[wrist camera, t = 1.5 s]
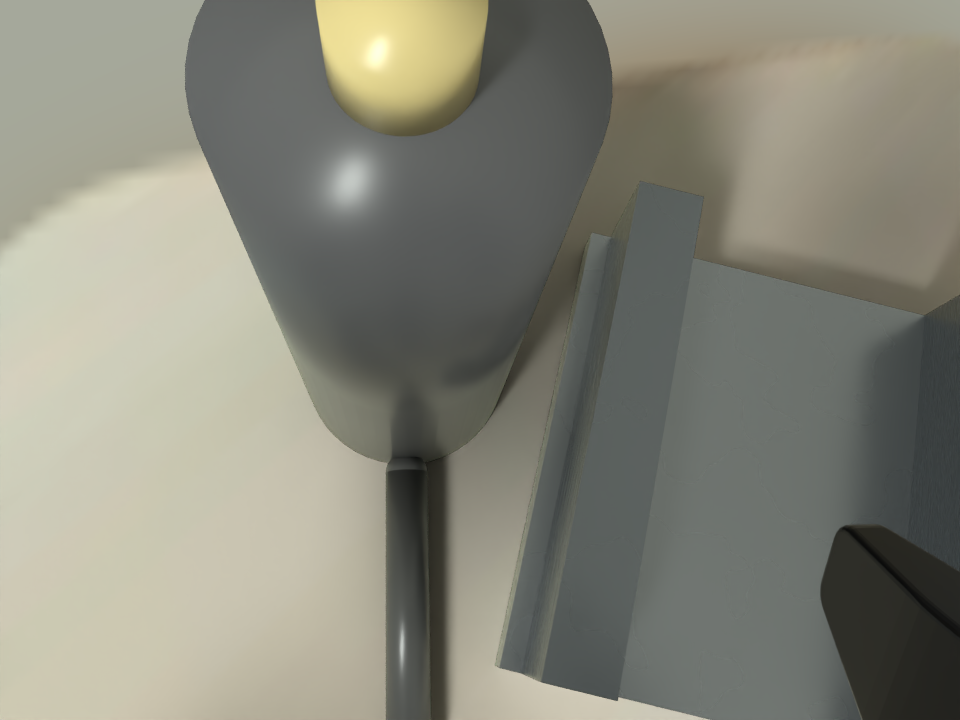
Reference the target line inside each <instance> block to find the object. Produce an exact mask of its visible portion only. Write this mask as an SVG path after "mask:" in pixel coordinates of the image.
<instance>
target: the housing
mask: <svg viewBox="0 0 960 720" xmlns="http://www.w3.org/2000/svg"><path fill="white" fill-rule="evenodd" d="M703 199H704V197H702V196H698V195H694V194H690V193H686V192H682V191H678V190H674V189H670V188H666V187H662V186H658V185H654V184H650V183H646V182H642V181H640V182H639V184H638V186H637V188H636V190H635V192H634V194H633V195H632V197H631V199H630V201H629V203H628V205H627V207H626V209H625V211H624V213H623V214H622V216H621V218H620V220H619V222H618V224H617V226H616V228H615V230H614V232H613V233H612V235H611V237H608V236H604V235H600V234H596V233H592V234H591V236H590V238H589V240H588V242H587V244H586V246H585V248H584V253H583V258H582V262H581V267H580V272H579V276H578V281H577V286H576V290H575V295H574V300H573V304H572V309H571V314H570V318H569V323H568V328H567V332H566V337H565V342H564V346H563V351H562V356H561V360H560V365H559V369H558V374H557V379H556V383H555V388H554V393H553V397H552V402H551V407H550V411H549V416H548V421H547V425H546V430H545V435H544V439H543V444H542V449H541V453H540V458H539V463H538V467H537V472H536V477H535V481H534V486H533V491H532V495H531V500H530V505H529V509H528V514H527V519H526V523H525V528H524V533H523V537H522V542H521V547H520V551H519V556H518V561H517V565H516V570H515V575H514V579H513V584H512V589H511V593H510V598H509V603H508V607H507V612H506V617H505V621H504V626H503V631H502V635H501V640H500V644H499V649H498V654H497V658H496V663H495V666H497V667H499V668H502V669H506V670H510V671H514V672H518V673H522V674H524V675H526V676H528V677H530V678H533V679H535V680H537V681H539V682H542V683H546V684H550V685H554V686H558V687H562V688H566V689H570V690H574V691H579V692H583V693H587V694H591V695H595V696H599V697H603V698H607V699H611V700H615V701H618V697H620V698H624V699H629V700H633V701H637V702H641V703H645V704H649V705H653V706H657V707H661V708H665V709H669V710H673V711H678V712H682V713H686V714H690V715H694V716H698V717H702V718H706V719H710V720H862V719H861V716H860V714H859V711H858V708H857V705H856V702H855V699H854V696H853V693H852V691H851V688H850V685H849V682H848V679H847V676H846V673H845V671H844V668H843V665H842V662H841V659H840V656H839V653H838V651H837V648H836V645H835V642H834V639H833V636H832V633H831V630H830V628H829V625H828V622H827V619H826V616H825V613H824V610H823V607H822V603H821V597H820V586H821V581H822V577H823V574H824V570H825V567H826V563H827V560H828V557H829V553H830V550H831V546H832V543H833V540H834V537H835V534H836V532H837V531H838V530H839V528H841V527H842V526H845V525H852V524H879V525H882V526H884V527H886V528H888V529H890V530H891V531H893V532H895V533H896V534H898V535H900V536H901V537H903V538H905V539H906V540H908V541H910V542H911V543H913V544H915V545H917V546H918V547H920V548H922V549H923V550H925V551H927V552H928V553H930V554H932V555H933V556H935V557H937V558H938V559H940V560H942V561H943V562H945V563H947V564H948V565H950V566H952V567H953V568H955V569H957V570H958V571H960V295H959V296H957V297H955V298H954V299H952V300H950V301H948V302H947V303H945V304H943V305H942V306H940V307H938V308H937V309H935V310H933V311H932V312H930V313H928V314H927V315H921V314H917V313H913V312H909V311H905V310H901V309H897V308H893V307H889V306H885V305H881V304H877V303H873V302H869V301H865V300H861V299H857V298H853V297H849V296H845V295H841V294H837V293H833V292H829V291H825V290H821V289H817V288H812V287H808V286H804V285H800V284H796V283H792V282H788V281H784V280H780V279H776V278H772V277H768V276H764V275H760V274H756V273H752V272H748V271H744V270H740V269H736V268H732V267H728V266H724V265H720V264H716V263H712V262H708V261H704V260H700V259H696V258H693V257H694V251H695V245H696V240H697V234H698V228H699V222H700V216H701V210H702V205H703Z"/></svg>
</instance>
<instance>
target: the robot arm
mask: <svg viewBox="0 0 960 720" xmlns="http://www.w3.org/2000/svg"><path fill="white" fill-rule="evenodd" d="M820 597H821V603H822V607H823V610H824V613H825V616H826V619H827V622H828V625H829V628H830V630H831V633H832V636H833V639H834V642H835V645H836V648H837V651H838V653H839V656H840V659H841V662H842V665H843V668H844V671H845V673H846V676H847V679H848V682H849V685H850V688H851V691H852V693H853V696H854V699H855V702H856V705H857V708H858V711H859V714H860V716H861V719H862V720H960V571H958V570H957V569H955V568H953V567H952V566H950V565H948V564H947V563H945V562H943V561H942V560H940V559H938V558H937V557H935V556H933V555H932V554H930V553H928V552H927V551H925V550H923V549H922V548H920V547H918V546H917V545H915V544H913V543H911V542H910V541H908V540H906V539H905V538H903V537H901V536H900V535H898V534H896V533H895V532H893V531H891V530H890V529H888V528H886V527H884V526H882V525H879V524H852V525H845V526H842V527H841V528H839V530H838V531H837V532H836V534H835V537H834V540H833V543H832V546H831V550H830V553H829V557H828V560H827V563H826V567H825V570H824V574H823V577H822V581H821V586H820Z"/></svg>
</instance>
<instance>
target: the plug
mask: <svg viewBox="0 0 960 720" xmlns="http://www.w3.org/2000/svg"><path fill="white" fill-rule="evenodd" d="M185 90H186V97H187V103H188V109H189V115H190V118H191V121H192V124H193V127H194V130H195V133H196V136H197V139H198V141H199V144H200V146H201V148H202V151H203V153H204V155H205V157H206V160H207V162H208V164H209V167H210V169H211V171H212V173H213V176H214V178H215V180H216V183H217V185H218V187H219V189H220V192H221V194H222V196H223V199H224V201H225V203H226V205H227V208H228V210H229V212H230V215H231V217H232V219H233V221H234V224H235V226H236V228H237V231H238V233H239V235H240V237H241V240H242V242H243V244H244V247H245V249H246V251H247V253H248V256H249V258H250V260H251V262H252V265H253V267H254V269H255V272H256V274H257V276H258V278H259V281H260V283H261V285H262V288H263V290H264V292H265V294H266V297H267V299H268V301H269V304H270V306H271V308H272V310H273V313H274V315H275V317H276V320H277V322H278V324H279V326H280V329H281V331H282V333H283V336H284V338H285V340H286V342H287V345H288V347H289V349H290V352H291V354H292V356H293V358H294V361H295V363H296V365H297V368H298V370H299V372H300V374H301V377H302V379H303V381H304V384H305V386H306V388H307V390H308V393H309V395H310V397H311V400H312V402H313V404H314V406H315V408H316V410H317V412H318V414H319V416H320V418H321V419H322V421H323V422H324V424H325V425H326V427H327V428H328V429H329V430H330V431H331V432H332V433H333V435H334V436H335V437H336V438H338V439H339V440H340V441H341V442H342V443H343V444H345V445H346V446H348V447H349V448H351V449H352V450H354V451H355V452H357V453H360V454H362V455H364V456H366V457H368V458H371V459H374V460H378V461H381V462H387V463H388V465H387V468H386V720H431V681H430V612H429V542H428V473H427V467H426V464H425V462H428V461H433V460H435V459H438V458H441V457H444V456H446V455H448V454H450V453H452V452H454V451H456V450H458V449H459V448H461V447H462V446H463V445H465V444H466V443H468V442H469V441H470V440H471V439H472V438H473V437H474V436H475V435H477V433H478V432H479V431H480V430H481V429H482V428H483V426H484V425H485V424H486V422H487V421H488V419H489V418H490V416H491V414H492V412H493V410H494V408H495V406H496V404H497V401H498V399H499V396H500V394H501V392H502V389H503V387H504V384H505V382H506V379H507V377H508V374H509V372H510V369H511V367H512V364H513V362H514V360H515V357H516V355H517V352H518V350H519V347H520V345H521V342H522V340H523V337H524V335H525V332H526V330H527V328H528V325H529V323H530V320H531V318H532V315H533V313H534V310H535V308H536V305H537V303H538V301H539V298H540V296H541V293H542V291H543V288H544V286H545V283H546V281H547V278H548V276H549V273H550V271H551V269H552V266H553V264H554V261H555V259H556V256H557V254H558V251H559V249H560V246H561V244H562V241H563V239H564V237H565V234H566V232H567V229H568V227H569V224H570V222H571V219H572V217H573V214H574V212H575V210H576V207H577V205H578V202H579V200H580V197H581V195H582V192H583V190H584V187H585V185H586V182H587V180H588V178H589V175H590V173H591V170H592V168H593V165H594V163H595V160H596V158H597V155H598V153H599V150H600V148H601V146H602V143H603V140H604V136H605V133H606V129H607V126H608V123H609V118H610V111H611V103H612V70H611V64H610V58H609V53H608V48H607V45H606V42H605V39H604V36H603V32H602V29H601V26H600V24H599V22H598V20H597V18H596V16H595V14H594V12H593V10H592V8H591V6H590V5H589V3H588V1H587V0H205V1H204V3H203V5H202V7H201V9H200V11H199V13H198V15H197V17H196V20H195V24H194V26H193V30H192V33H191V36H190V39H189V44H188V50H187V57H186V64H185Z"/></svg>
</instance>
